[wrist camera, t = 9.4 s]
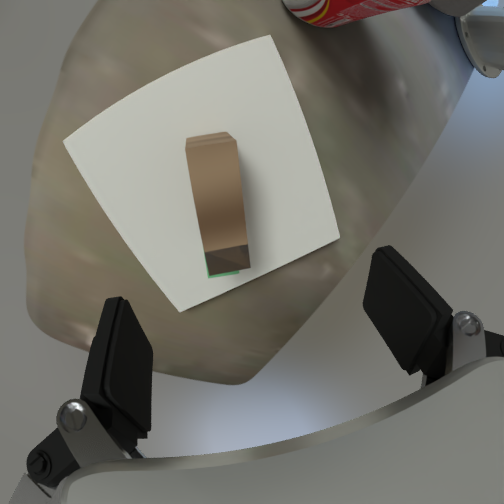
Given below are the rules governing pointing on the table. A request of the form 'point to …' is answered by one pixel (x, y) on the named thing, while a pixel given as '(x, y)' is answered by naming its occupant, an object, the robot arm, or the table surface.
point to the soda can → (343, 10)
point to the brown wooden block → (218, 201)
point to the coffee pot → (456, 6)
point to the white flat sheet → (177, 174)
